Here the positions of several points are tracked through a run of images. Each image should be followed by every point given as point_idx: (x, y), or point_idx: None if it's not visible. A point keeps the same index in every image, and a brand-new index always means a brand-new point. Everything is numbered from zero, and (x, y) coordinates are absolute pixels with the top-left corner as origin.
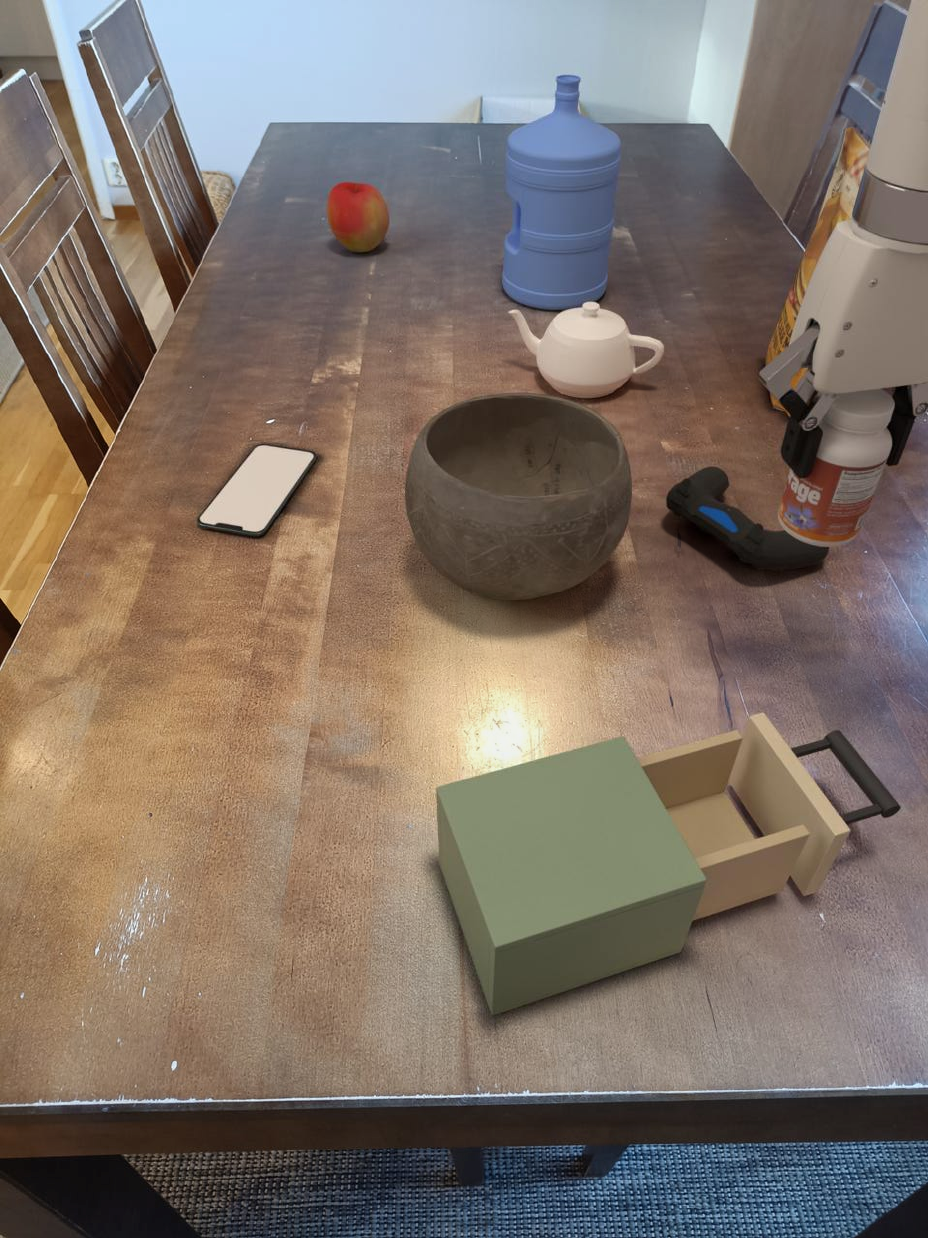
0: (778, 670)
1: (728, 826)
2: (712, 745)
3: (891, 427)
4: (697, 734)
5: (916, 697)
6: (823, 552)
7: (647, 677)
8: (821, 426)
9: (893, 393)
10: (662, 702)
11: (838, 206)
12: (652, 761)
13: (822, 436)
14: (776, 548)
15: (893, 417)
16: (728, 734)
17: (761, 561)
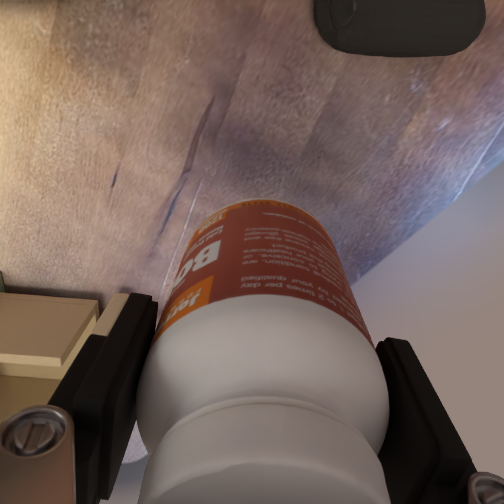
0: (255, 190)
1: (82, 339)
2: (26, 363)
3: (383, 467)
4: (121, 228)
5: (361, 275)
6: (448, 54)
7: (102, 137)
8: (165, 429)
9: (464, 497)
10: (103, 178)
11: None
12: None
13: (149, 446)
14: (362, 43)
15: (394, 492)
16: (48, 359)
17: (332, 45)
